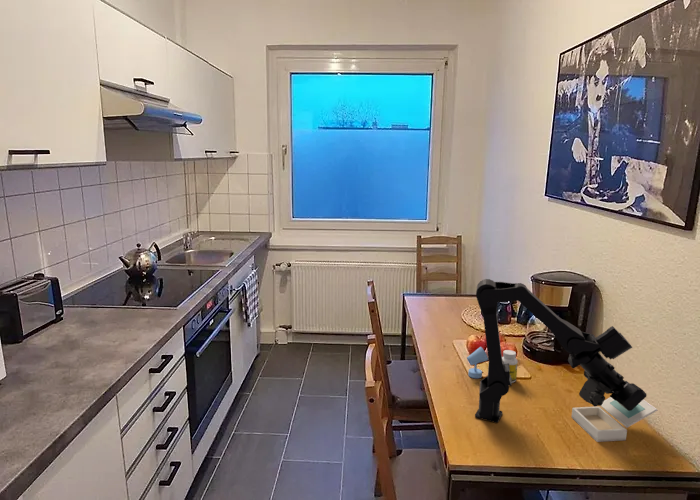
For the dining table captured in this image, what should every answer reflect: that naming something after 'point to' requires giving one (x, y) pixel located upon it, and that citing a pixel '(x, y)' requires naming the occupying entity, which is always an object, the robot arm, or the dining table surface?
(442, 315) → the dining table surface
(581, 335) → the robot arm
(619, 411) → the lid
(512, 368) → the supplement bottle
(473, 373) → the spotlight
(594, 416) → the box
